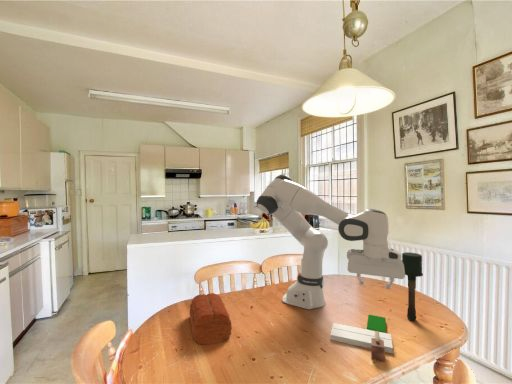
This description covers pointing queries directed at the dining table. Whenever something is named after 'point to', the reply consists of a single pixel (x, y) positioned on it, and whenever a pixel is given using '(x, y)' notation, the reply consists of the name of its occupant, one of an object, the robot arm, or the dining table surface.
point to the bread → (209, 319)
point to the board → (359, 336)
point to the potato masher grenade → (412, 279)
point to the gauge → (377, 348)
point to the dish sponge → (376, 323)
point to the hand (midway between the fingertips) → (374, 286)
